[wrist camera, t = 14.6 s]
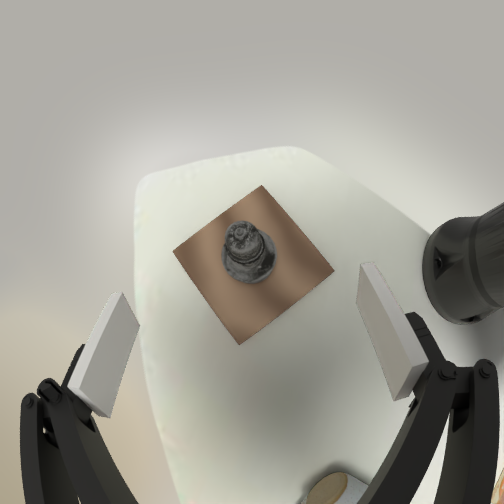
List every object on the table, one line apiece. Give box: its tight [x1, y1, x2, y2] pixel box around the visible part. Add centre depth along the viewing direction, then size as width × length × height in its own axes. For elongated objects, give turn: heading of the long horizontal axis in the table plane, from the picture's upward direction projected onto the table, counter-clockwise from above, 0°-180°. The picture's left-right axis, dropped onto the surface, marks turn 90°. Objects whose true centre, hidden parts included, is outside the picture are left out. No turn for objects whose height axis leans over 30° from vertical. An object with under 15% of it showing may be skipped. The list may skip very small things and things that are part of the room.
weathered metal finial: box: [221, 221, 277, 284], centre depth 27 cm, size 6×6×12 cm
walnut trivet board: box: [173, 185, 334, 345], centre depth 33 cm, size 14×14×2 cm
